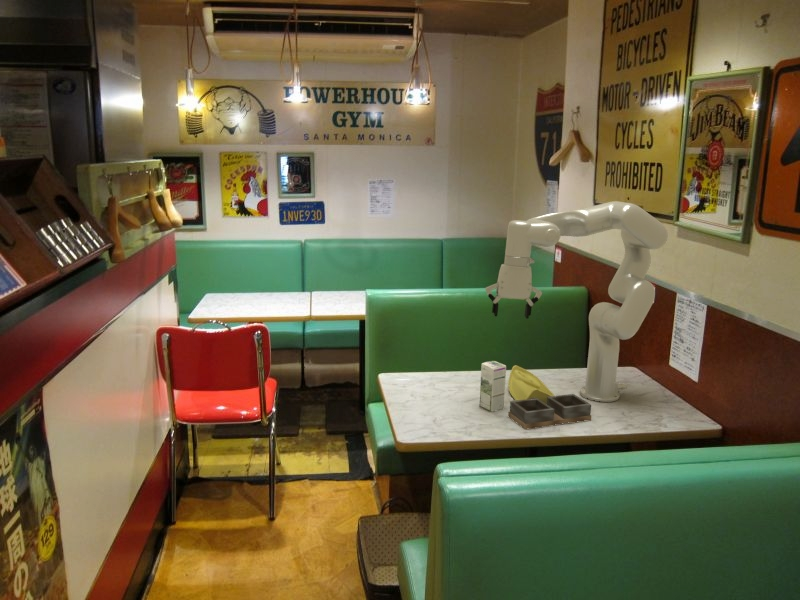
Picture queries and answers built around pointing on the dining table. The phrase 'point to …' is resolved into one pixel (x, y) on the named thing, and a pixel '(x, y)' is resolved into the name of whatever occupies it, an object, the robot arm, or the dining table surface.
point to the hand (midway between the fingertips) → (510, 316)
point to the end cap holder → (549, 411)
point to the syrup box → (492, 385)
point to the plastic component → (527, 385)
